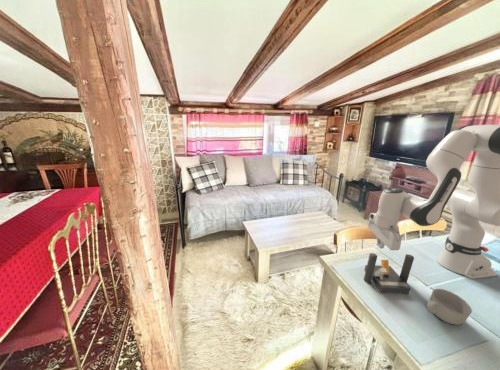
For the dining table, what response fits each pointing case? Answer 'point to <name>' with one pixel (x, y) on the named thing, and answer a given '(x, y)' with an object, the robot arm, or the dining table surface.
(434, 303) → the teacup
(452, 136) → the robot arm
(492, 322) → the dining table surface
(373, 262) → the post
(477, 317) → the dining table surface
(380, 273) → the paddle right
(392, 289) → the black flat block
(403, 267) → the post
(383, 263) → the paddle centre
